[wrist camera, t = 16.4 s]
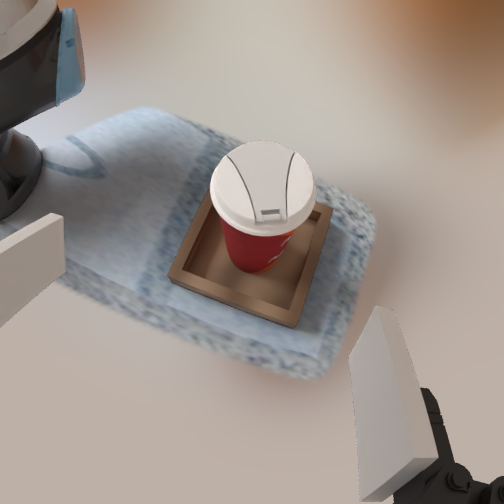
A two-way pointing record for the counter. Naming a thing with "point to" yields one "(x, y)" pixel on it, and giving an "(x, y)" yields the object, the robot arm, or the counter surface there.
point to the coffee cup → (261, 201)
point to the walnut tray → (250, 284)
